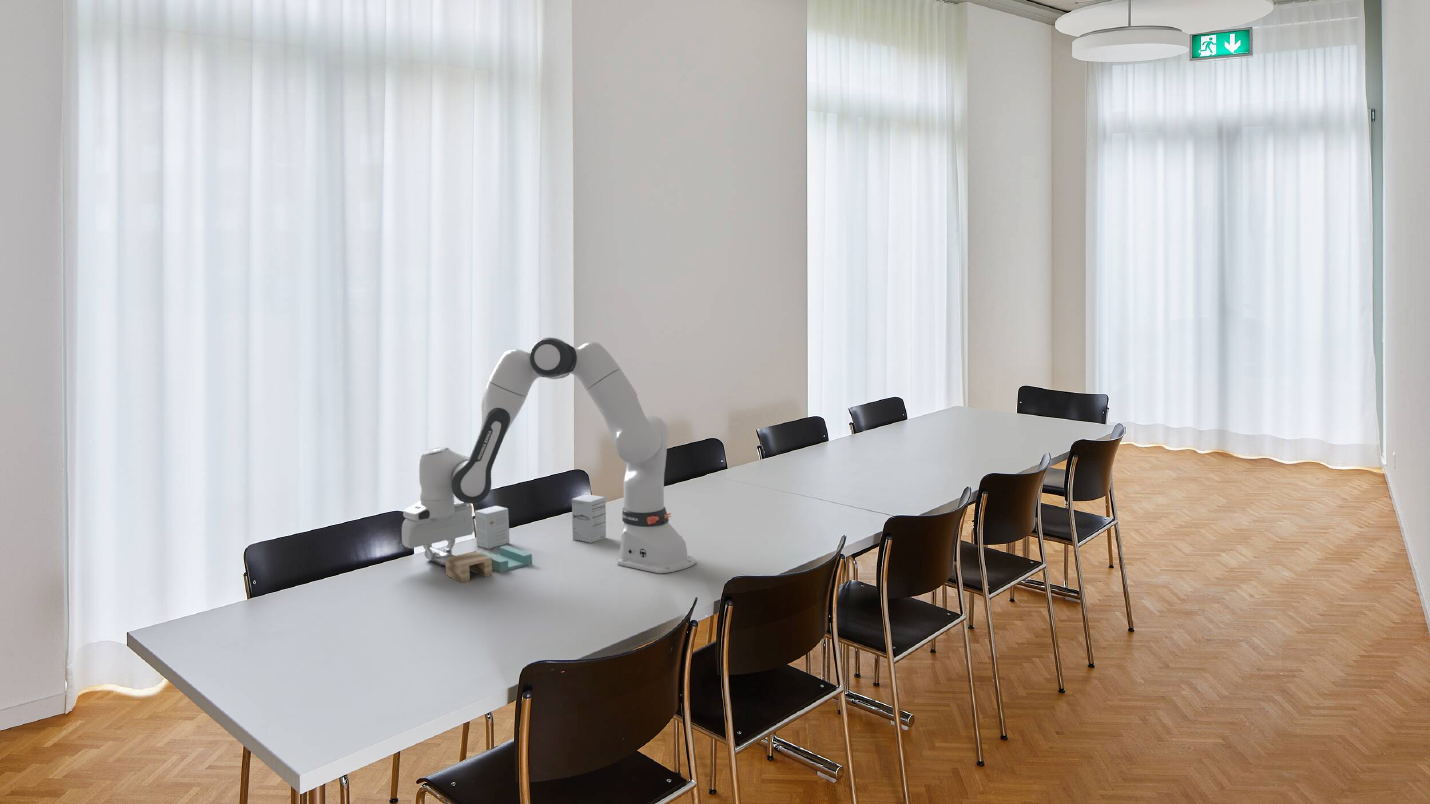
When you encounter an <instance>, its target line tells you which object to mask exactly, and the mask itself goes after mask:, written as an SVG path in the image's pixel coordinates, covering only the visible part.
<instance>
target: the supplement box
mask: <svg viewBox="0 0 1430 804" xmlns="http://www.w3.org/2000/svg"><path fill="white" fill-rule="evenodd" d="M606 502H607V501H606V497H605V496H599V495H595V494H594V495H593V494H588V493H587V494H583V495H580V496H576V497H574V498H571V509H572V510H571V511H572V512H571V513H572V514H571V518H572V521H571V522H572V523H571V524H572V526H571V527H572V540H573V539H574V540H575V541H579V540H580V542H584V541H585V542H586V543H589V544H593V543H596V542H598V541H597V540H599V541H600V539H601V540H603V539H602V538H604V539H606V538H607V517H606V516H607V515H606V514H607V511H606V510H607V509H606V504H607V503H606ZM605 537H606V538H605ZM574 540H573V541H574ZM581 540H582V541H581ZM595 541H596V542H595ZM592 542H593V543H592Z"/></svg>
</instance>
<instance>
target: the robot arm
mask: <svg viewBox="0 0 1430 804" xmlns="http://www.w3.org/2000/svg"><path fill="white" fill-rule="evenodd" d="M569 375H573V376H575V377H576V378H577V379H578V380H579V381H580V382H581V384H582V386H583V387H584V389H585V390H586V392H587V393H588V395H589V396H590V398H591V400H592V402H593V403H594V405H596V407H597V409H598V410H599V412H600V413H601V415H602V417H603V419H604V421H605V424H606V426H607V428H608V430H609V433H610V435H611V437H612V440H613V443H614V446H615V447H614V448H615V451H616V454H617V456H618V457H619V458H620V459H621V460H622V461H624V462H626V467H625V473H624V476H623V481H622V482H623V483H622V484H623V508H622V512H621V517H622V522H623V528H622V532H621V537H620V549H619V556H618V559H617V563H616V564H617V565H618V566H622V567H627V568H631V569H638V570H642V571H646V572H650V573H656V574H666V573H673V572H677V571H682V570H684V569H688V568H690V567H692V566H693V565H695V564H696V563H697V560H696V558H695V557H692V556H691V555H688V551H687V550H688V549H687V544H686V540H685V539H684V538H683V536H682V535H680V534H679V532H678V531H677V530H676V529H675V528H674V527H673V526H672V525H671V524H670V523H671V522H669V520H670V519H669V518H672V516H671V514H672V513H671V512H669V513H667V508H666V506H665V490H664V489H665V472H666V464H667V463H666V461H667V453H668V452H667V451H668V450H667V449H668V440H669V439H668V438H669V429H668V425H667V424H666V422H665V421H664V420H663V419H662V418H660V417H658V416H655V415H646V414H645V412H644V411H643V408H642V405H641V404H640V402H639V401H640V400H639V398H638V393H637V391H636V390H635V388H634V387H633V385H632V383H631V382H630V381H629V379H628V377H627V376H626V374H625V373H624V371H623V370H622V369H621V367H620V365H619V363H618V362H616V360H615V359H614V358H613V357H612V355H611V353H609V352H608V351H607V350H606V348H604V346H603V345H601V344H600V343H599V342H596V341H590V342H585V343H583V344H580V346H577V347H574V346H572V345H570V344H569V343H567V342H566V341H565V340H562V339H560V338H556V337H544V338H542V339H539V340H538V341H536V342H535V343H534V344H533V345H532V347H531V349H530V351H525V350H522V349H517V348H515V349H514V348H512V349H509V350H506V351H505V352H504V353H503V355H502V356H501V357H500V359H499V361H498V362H497V364H496V365H495V368H494V369H493V371H492V373H491V374H490V377H489V379H488V381H487V384H486V387H485V389H484V392H483V396H482V400H481V426H480V431H479V433H478V436H477V439H476V441H475V442H474V443H475V444H474V446H473V449H472V451H471V454H470V456H466V455H462V454H460V453H457V452H455V451H453V450H451V448H449V447H445V446H444V447H443V446H442V447H441V446H439V447H435V448H431V449H428V450H427V451H425V452H424V453H422V455H421V456H420V460H419V465H418V466H419V469H418V472H419V473H418V477H419V480H418V481H419V485H420V488H421V491H420V498H419V499H420V500H419V501H418V502H416V503H414V504H413V505H411V506H408V507H407V508H405V509H404V510H403V514H402V515H403V517H404V518H405V519H404V520H403V522H402V526H401V543H402V545H403V546H404V547H406V548H408V549H415V548H417V547H423V548H424V550H425V551H427V552H428V559H427V560H429V559H430V560H429V561H432V560H431V559H435V558H436V556H435V555H436V552H433V551H431V549H430V548H431V547H433V546H432V545H433V544H436V543H440V542H445V541H447V542H448V543H447V545H446V547H444V548H443V551H444V552H447V553H450V554H452V555H453V547H454V545H455V543H456V539H457V538H462V537H466V536H472V535H473V534H474V531H475V524H474V518H473V506H472V504H477V503H480V502H483V500H485V499H486V498H487V497H488V495H489V494H490V492H491V489H492V469H493V466H494V463H495V460H496V459H497V456H498V454H499V451H500V448H501V447H502V443H503V440H504V439H505V436H506V434H507V433H508V431H509V429H510V427H511V426H512V424H513V422H515V419H516V418H517V416H518V414H519V413H520V411H521V409H522V407H523V405H524V404H525V401H526V399H527V396H528V394H529V391H530V390H531V388H532V386H533V384H534V382H535V381H537V379H539V378H547V379H550V380H559V379H563V378H566V377H568V376H569ZM455 498H456V499H457V500H459V501H460V503H455Z"/></svg>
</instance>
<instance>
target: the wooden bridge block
mask: <svg viewBox="0 0 1430 804" xmlns="http://www.w3.org/2000/svg"><path fill="white" fill-rule="evenodd" d="M479 552H480V551H470V552H466V553H463V554H457V555H455V556H453V557H449V558H445V561H446V566H445V576H446V575H448V576H449V577H448V576H447V577H448V578H450V577H452V578H451V579H453V578H454V579H453V580H455V579H456V580H455V581H457V580H458V582H460V583H462V582H463V583H466V582H465V581H467V582H470V581H469V580H470V579H471V578H470V576H471V574H470V570H471V572H473V571H474V572H473V573H475V572H477V573H478V575H480V574H481V575H480V576H482V575H483V577H488V575H489V576H491V575H493V569H492V557H489V556H487V555H484V554H481V553H479ZM470 565H471V568H470V570H469V566H470ZM477 573H476V574H477Z"/></svg>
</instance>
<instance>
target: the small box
mask: <svg viewBox="0 0 1430 804" xmlns="http://www.w3.org/2000/svg"><path fill="white" fill-rule="evenodd" d="M474 516H475V517H474V519H475V520H474V521H475V536H476V537H475V539H476V546H477V547H481V548H485V549H487V550H488V549H489V548H490V549H492V548H495V547H501V546H502V545H503V546H504V545H507V544H510V541H511V540H510V524H509V523H510V522H509V508H507V507H503V506H500V505H493V506H489V507H485V508H482V509H477V510H475V511H474Z"/></svg>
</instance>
